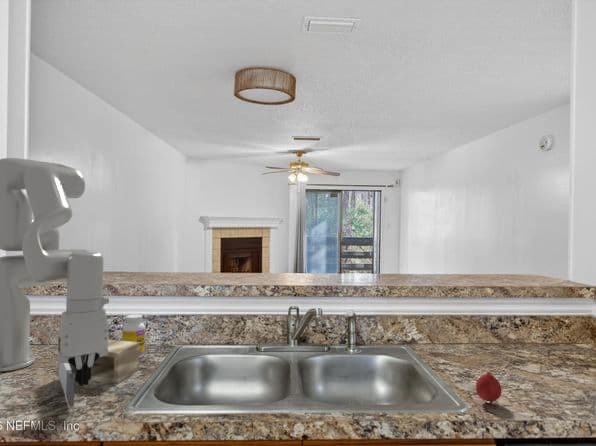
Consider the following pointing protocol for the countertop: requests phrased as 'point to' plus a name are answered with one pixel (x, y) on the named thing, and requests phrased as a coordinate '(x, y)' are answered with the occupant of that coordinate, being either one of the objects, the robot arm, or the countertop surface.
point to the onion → (488, 387)
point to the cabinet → (115, 362)
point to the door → (67, 381)
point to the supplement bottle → (134, 331)
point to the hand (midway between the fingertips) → (82, 383)
